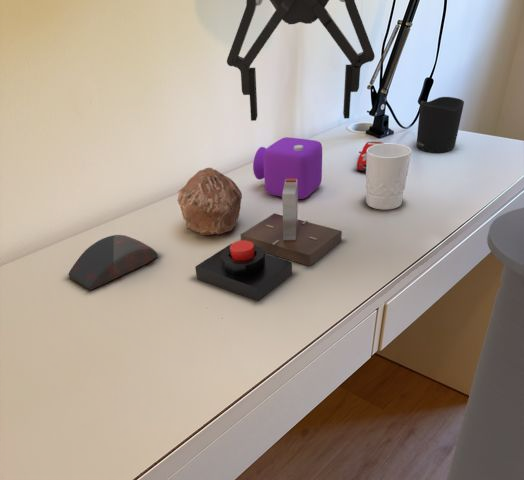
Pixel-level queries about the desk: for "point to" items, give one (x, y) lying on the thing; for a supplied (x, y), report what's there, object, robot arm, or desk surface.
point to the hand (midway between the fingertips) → (299, 117)
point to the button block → (245, 272)
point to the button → (242, 250)
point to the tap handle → (290, 209)
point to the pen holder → (439, 124)
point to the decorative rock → (210, 202)
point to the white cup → (386, 175)
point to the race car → (364, 156)
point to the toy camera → (290, 165)
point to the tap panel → (300, 250)
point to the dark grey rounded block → (110, 260)
